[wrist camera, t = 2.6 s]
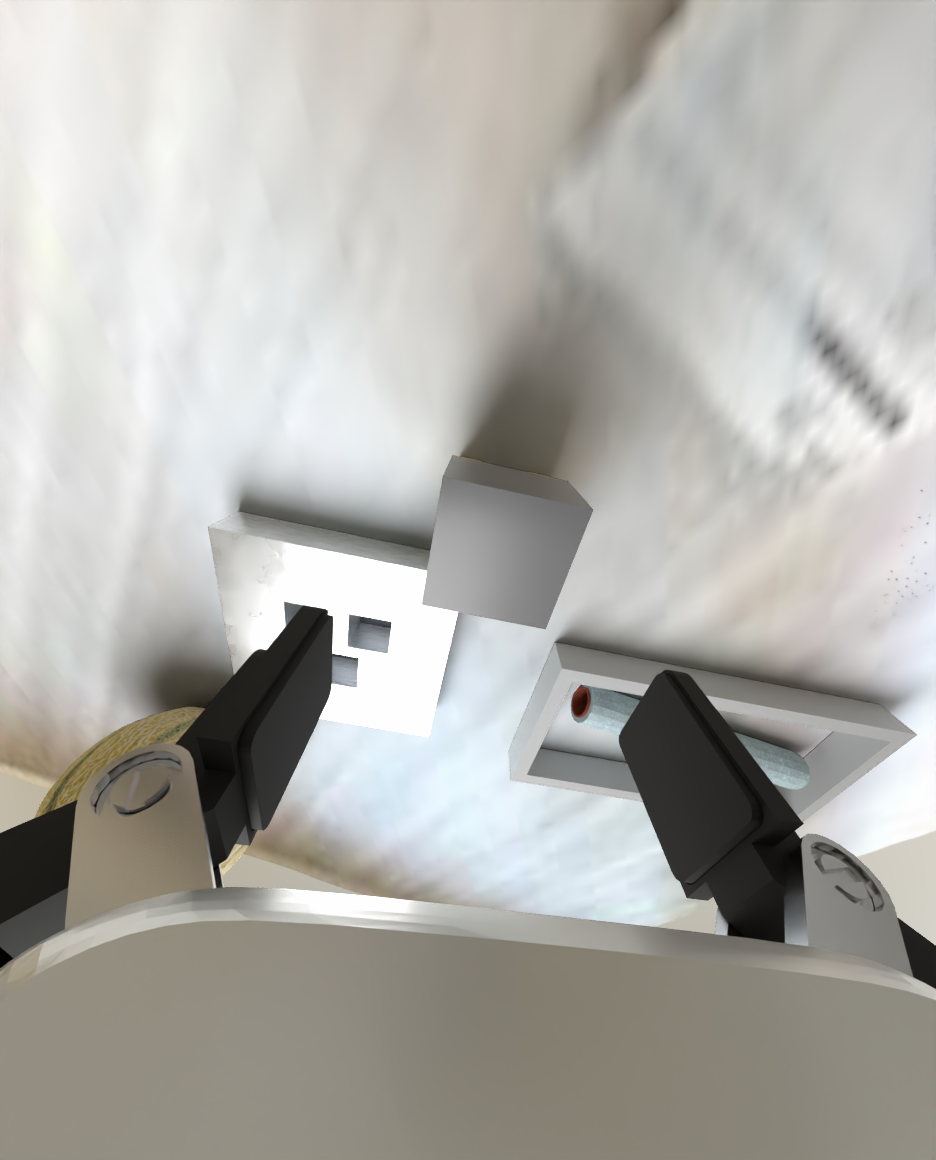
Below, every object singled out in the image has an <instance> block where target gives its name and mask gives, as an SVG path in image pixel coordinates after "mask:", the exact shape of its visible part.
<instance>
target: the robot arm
mask: <svg viewBox="0 0 936 1160" xmlns="http://www.w3.org/2000/svg"><path fill="white" fill-rule="evenodd" d="M332 657H333V616H332V615H327V610H326V609H324V608H318V607H313V606H307V605H304V606H302V607H301V608H300V609H299V611H298V612H297V613H296V614H295V616H294V617H293V618H292V619H291V620H290V622H289V623H288V624H287V625H286V627H285V628H284V629H283V630H282V632H281V633H280V634H279V635H278V637H277V638H276V639H275V640H274V642H273V643H272V644H271V645H270V646H269V648H268V649H267V650H264V649H258V650H256V651H255V652H254V653H253V654H251V656H250V657H249V658H248V659H247V660H246V661H245V663H244V664H243V665H242V666H241V667H240V668H239V670H238V671H237V672H236V673H235V674H234V675H233V677H232V678H231V679H230V680H229V681H228V683H227V684H226V685H225V686H224V687H223V688H222V690H221V691H220V692H219V693H218V694H217V695H216V697H215V698H214V699H213V700H212V701H211V702H210V704H209V705H208V706H207V707H206V708H205V709H204V711H203V712H202V713H201V714H200V715H199V717H198V718H197V719H196V720H195V721H194V722H193V724H192V725H191V726H190V727H189V728H188V729H187V731H186V732H185V733H184V734H183V735H182V736H181V738H180V739H179V740H178V741H177V742H176V744H171V743H161V744H152V745H148V746H144V747H140V748H137V749H135V750H132V751H130V752H128V753H125V754H123V755H121V756H119V757H118V758H116V759H115V760H113V761H111V762H110V763H108V764H107V765H105V766H104V767H103V768H102V769H101V770H99V771H98V772H97V773H96V774H95V775H94V776H93V777H92V778H91V779H90V780H89V781H88V783H87V784H86V786H85V787H84V788H83V790H82V791H81V792H80V795H79V798H78V800H76V801H73V802H71V803H69V804H66V805H64V806H62V807H60V808H57V809H55V810H53V811H50V812H48V813H46V814H43V815H41V816H39V817H36V818H34V819H32V820H30V821H27V822H25V823H23V824H21V825H18V826H16V827H13V828H11V829H9V830H6V831H4V832H2V833H0V1160H936V946H935V945H934V944H933V943H931V942H930V941H929V940H927V939H926V938H925V937H923V936H922V935H921V934H919V933H918V932H916V931H915V930H914V929H912V928H911V927H910V926H908V925H907V924H906V923H904V922H903V921H902V920H900V919H899V918H897V915H896V911H895V907H894V905H893V903H892V901H891V899H890V896H889V894H888V893H887V891H886V890H885V888H884V887H883V885H882V884H881V882H880V881H879V880H878V879H877V878H876V877H875V876H874V874H873V873H872V872H871V871H870V870H869V869H868V868H867V867H866V866H865V865H864V864H863V863H862V862H861V861H860V860H859V859H858V858H856V857H855V856H854V855H853V854H852V853H850V852H849V851H847V850H846V849H845V848H843V847H842V846H841V845H839V844H837V843H835V842H834V841H832V840H830V839H828V838H826V837H823V836H820V835H817V834H807V835H806V836H804V837H802V838H801V839H800V838H799V836H798V835H797V834H796V832H795V830H796V829H798V828H799V827H800V826H801V825H803V822H802V821H801V820H800V818H799V817H798V816H797V814H796V813H795V812H794V810H793V809H792V808H791V807H790V805H789V804H788V803H787V801H786V800H785V799H784V797H783V796H782V795H781V793H780V792H779V791H778V789H777V788H776V787H775V786H774V784H773V783H772V782H771V780H770V779H769V778H768V776H767V775H766V774H765V772H764V771H763V770H762V769H761V767H760V766H759V765H758V763H757V762H756V761H755V759H754V758H753V757H752V755H751V754H750V753H749V752H748V750H747V749H746V748H745V746H744V745H743V744H742V742H741V741H740V740H739V738H738V737H737V736H736V734H735V733H734V732H733V731H732V729H731V728H730V727H729V725H728V724H727V723H726V721H725V720H724V719H723V717H722V716H721V715H720V714H719V712H718V711H717V710H716V708H715V707H714V706H713V704H712V703H711V702H710V700H709V699H708V698H707V697H706V695H705V694H704V693H703V691H702V690H701V689H700V687H699V686H698V685H697V683H696V682H695V681H694V679H693V678H692V677H691V676H690V675H689V674H687V673H684V672H679V671H673V670H664V671H662V672H661V674H657V675H656V676H655V678H654V679H653V681H652V683H651V684H650V686H649V687H648V689H647V691H646V692H645V694H644V695H643V697H642V698H641V700H640V702H639V703H638V705H637V706H636V708H635V710H634V711H633V713H632V714H631V716H630V718H629V719H628V721H627V722H626V724H625V726H624V727H623V729H622V730H621V732H620V735H619V744H620V747H621V749H622V752H623V754H624V757H625V759H626V762H627V764H628V766H629V769H630V771H631V774H632V776H633V779H634V781H635V783H636V786H637V788H638V791H639V793H640V796H641V798H642V800H643V803H644V805H645V808H646V810H647V813H648V815H649V817H650V820H651V822H652V825H653V827H654V830H655V832H656V834H657V837H658V839H659V842H660V844H661V846H662V849H663V851H664V854H665V856H666V859H667V861H668V863H669V866H670V868H671V871H672V873H673V875H674V876H675V878H676V879H677V880H678V881H680V883H681V885H682V887H683V890H684V892H685V895H686V897H687V898H691V899H699V900H709V899H711V898H712V897H714V899H715V901H716V903H717V905H718V910H717V918H716V925H715V933H714V934H709V933H700V932H691V931H683V930H674V929H666V928H657V927H649V926H640V925H632V924H623V923H614V922H605V921H596V920H587V919H578V918H569V917H560V916H551V915H542V914H533V913H524V912H515V911H506V910H497V909H487V908H478V907H468V906H459V905H449V904H440V903H430V902H421V901H411V900H402V899H392V898H383V897H374V896H364V895H351V894H340V893H327V892H316V891H304V890H293V889H281V888H245V887H225V888H224V883H223V877H222V871H221V866H220V864H221V863H222V862H224V861H225V860H227V859H228V857H229V855H230V853H231V851H232V849H233V847H234V846H235V844H239V845H248V846H250V844H251V842H252V840H253V838H254V836H255V834H256V832H257V830H265V829H266V828H267V826H268V825H269V823H270V821H271V819H272V817H273V815H274V813H275V811H276V808H277V806H278V804H279V802H280V800H281V798H282V796H283V794H284V792H285V790H286V787H287V785H288V783H289V781H290V779H291V777H292V775H293V773H294V771H295V769H296V766H297V764H298V762H299V760H300V758H301V756H302V754H303V752H304V750H305V748H306V745H307V743H308V741H309V739H310V737H311V735H312V733H313V731H314V729H315V727H316V724H317V722H318V720H319V718H320V716H321V714H322V712H323V710H324V708H325V706H326V703H327V701H328V699H329V696H330V693H331V688H332Z"/></svg>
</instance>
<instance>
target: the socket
mask: <svg viewBox="0 0 936 1160" xmlns="http://www.w3.org/2000/svg"><path fill="white" fill-rule="evenodd" d="M208 531H209V536H210V542H211V548H212V553H213V559H214V565H215V571H216V576H217V582H218V588H219V594H220V599H221V605H222V611H223V616H224V622H225V628H226V634H227V639H228V645H229V651H230V657H231V662H232V668H233V674H235V673H236V672H237V671H238V670H239V668H240V667H241V666H242V665H243V664H244V663H245V661H246V660H247V659H248V658H249V657H250V656H251V654H253V653H254V652H255V651H256V650H258V649H264V650H267V649H268V648H269V646H270V645H271V644H272V643H273V642H274V640H275V639H276V638H277V637H278V635H279V634H280V633H281V632H282V630H283V629H284V628H285V627H286V625H287V624H288V623H289V622H290V620H291V619H292V618H293V617H294V616H295V614H296V613H297V612H298V611H299V609H300V608H301V607H302V606H304V605H307V606H313V607H318V608H324V609H327V610H328V615H332V616H333V654H339V655H344V656H350V657H355V658H359V660H355V659H350V658H344V657H339V656H333V657H332V688H331V693H330V696H329V699H328V701H327V703H326V706H325V708H324V710H323V712H322V714H321V716H320V718H319V719H325V720H331V721H337V722H343V723H349V724H355V725H361V726H367V727H372V728H378V729H384V730H390V731H396V732H402V733H408V734H414V735H420V736H426V737H429V734H430V729H431V725H432V721H433V717H434V712H435V708H436V704H437V700H438V695H439V691H440V687H441V683H442V678H443V674H444V670H445V666H446V661H447V657H448V653H449V649H450V644H451V640H452V636H453V632H454V627H455V623H456V619H457V615H458V612H454V611H449V610H444V609H439V608H434V607H429V606H423V605H421V604H422V598H423V592H424V586H425V580H426V574H427V568H428V562H429V556H430V550H425V549H420V548H415V547H410V546H405V545H400V544H396V543H391V542H386V541H381V540H376V539H371V538H366V537H361V536H356V535H352V534H347V533H342V532H337V531H332V530H327V529H322V528H317V527H313V526H308V525H303V524H298V523H293V522H288V521H283V520H278V519H273V518H269V517H264V516H259V515H254V514H249V513H244V512H239V511H238V512H236V513H234V514H232V515H230V516H228V517H226V518H224V519H222V520H220V521H218V522H217V523H215V524H213V525H211V526H209V527H208ZM360 616H364V617H369V618H374V619H379V620H385V621H390V622H392V627H391V628H388V627H382V626H377V625H372V624H367V623H361V622H360Z"/></svg>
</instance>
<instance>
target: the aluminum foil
mask: <svg viewBox="0 0 936 1160" xmlns="http://www.w3.org/2000/svg"><path fill="white" fill-rule="evenodd" d="M639 702H640V700H637V699H634V698H631V697H628V696H625V695H622V694H619V693H616V692H613V691H610V690H607V689H602V688H597V687H591V686H586V685H583V686H581V687H579V688H578V689H577V690H576V692H575V693H574V695H573V698H572V701H571V713H572V716H573V718H574V720H575V721H576V722H578V723H581V724H584V725H587V726H590V727H593V728H596V729H600V730H603V731H606V732H609V733H612V734H616V735H620V732H621V730H622V729H623V727H624V726H625V724H626V722H627V721H628V719H629V718H630V716H631V714H632V713H633V711H634V710H635V708H636V706H637V705H638V703H639ZM734 733H735V734H736V736H737V737H738V738H739V740H740V741H741V742H742V744H743V745H744V746H745V748H746V749H747V750H748V752H749V753H750V754H751V755H752V757H753V758H754V759H755V761H756V762H757V763H758V765H759V766H760V767H761V769H762V770H763V771H764V772H765V774H766V775H767V776H768V778H769V779H770V780H771V782H772V783H773V784H775V785H779V786H782V787H785V788H788V789H795V790H798V789H801V788H804V787H805V786H806V785H807V783H808V782H809V779H810V770H809V766H808V765H807V763H806V761H805V760H804V759H803V758H802V757H801V756H800V755H799V754H798V753H795V752H793V751H790V750H787V749H784V748H781V747H778V746H775V745H772V744H769V743H766V742H763V741H760V740H757V739H754V738H751V737H748V736H745V735H742V734H739V733H736V732H734Z"/></svg>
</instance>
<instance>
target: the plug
mask: <svg viewBox="0 0 936 1160" xmlns="http://www.w3.org/2000/svg"><path fill="white" fill-rule="evenodd" d="M592 512H593V509H592V508H591V507H590V505H589V504H588V503H587V502H586V501H585V500H584V499H583V498H582V496H581V495H580V494H579V493H578V492H577V491H576V490H575V489H574V487H573V486H572V485H571V484H570V483H569V482H568V481H565V480H561V479H556V478H552V477H550V476H546V475H541V474H537V473H533V472H525V471H521V470H516V469H512V468H507V467H503V466H498V465H494V464H489V463H485V462H482V461H479V460H475V459H470V458H466V457H461V456H460V457H458V456H454V455H452V458H451V460H450V462H449V464H448V466H447V469H446V471H445V473H444V475H443V479H442V485H441V491H440V497H439V503H438V509H437V515H436V521H435V527H434V532H433V538H432V544H431V550H430V556H429V562H428V568H427V574H426V580H425V586H424V592H423V598H422V604H421V605H423V606H429V607H434V608H439V609H444V610H449V611H454V612H460V613H465V614H470V615H475V616H480V617H485V618H490V619H496V620H501V621H506V622H511V623H516V624H521V625H527V626H532V627H537V628H542V629H546V627H547V624H548V622H549V619H550V617H551V614H552V612H553V609H554V607H555V604H556V602H557V599H558V597H559V594H560V592H561V589H562V587H563V584H564V582H565V579H566V577H567V574H568V572H569V569H570V567H571V564H572V562H573V559H574V557H575V554H576V552H577V549H578V547H579V544H580V542H581V539H582V537H583V534H584V532H585V529H586V527H587V524H588V522H589V519H590V517H591V514H592Z"/></svg>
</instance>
